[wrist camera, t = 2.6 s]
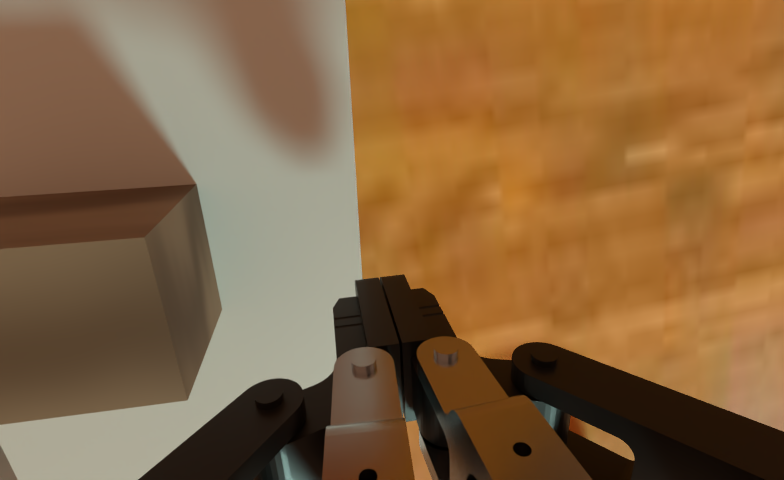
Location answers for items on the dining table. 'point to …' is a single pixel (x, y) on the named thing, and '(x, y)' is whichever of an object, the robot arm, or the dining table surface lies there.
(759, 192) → the dining table surface
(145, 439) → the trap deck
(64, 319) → the walnut block
